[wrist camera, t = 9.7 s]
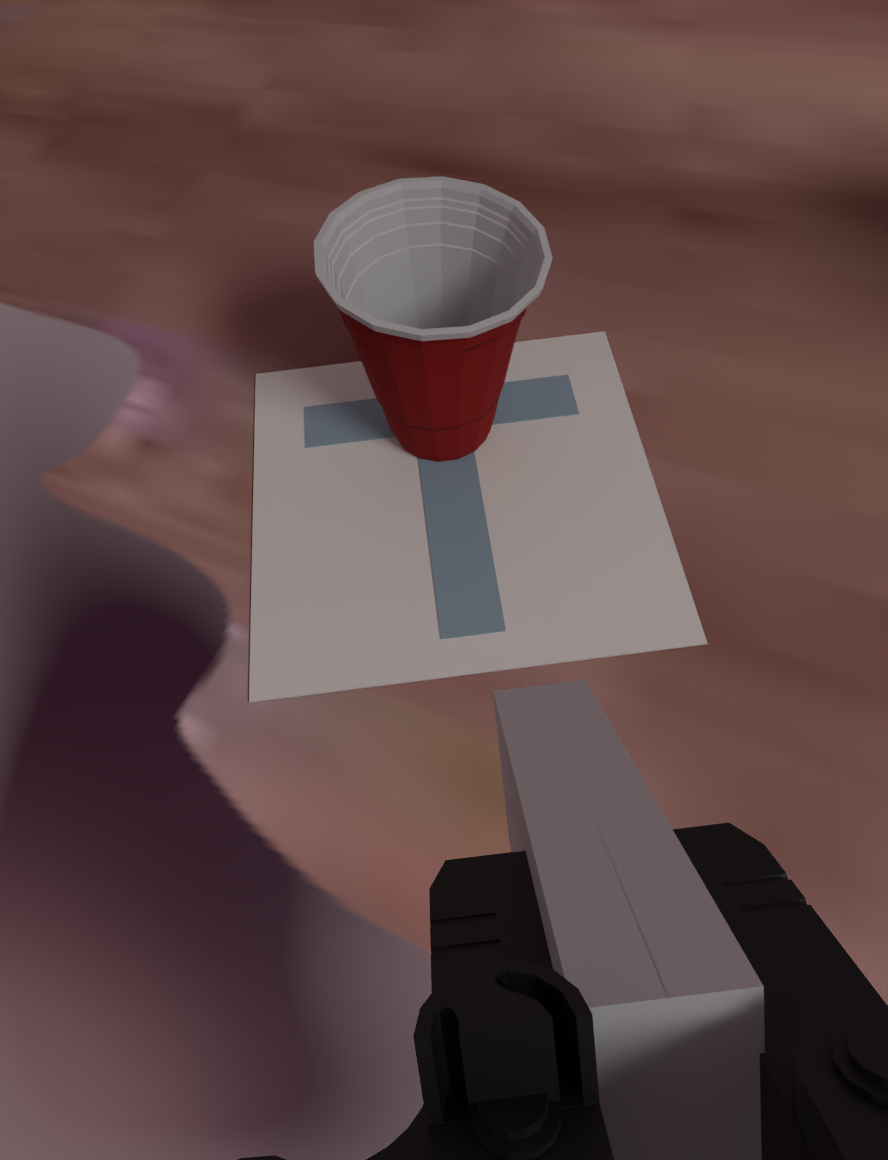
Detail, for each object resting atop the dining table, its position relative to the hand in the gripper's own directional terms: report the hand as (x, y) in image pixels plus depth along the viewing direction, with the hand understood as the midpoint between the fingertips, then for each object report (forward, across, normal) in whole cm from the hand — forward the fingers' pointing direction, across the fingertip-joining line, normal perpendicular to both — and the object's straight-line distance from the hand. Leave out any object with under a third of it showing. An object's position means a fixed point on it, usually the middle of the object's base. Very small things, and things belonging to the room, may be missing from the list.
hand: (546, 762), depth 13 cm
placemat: (+31, 0, +1) cm, 31 cm away
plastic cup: (+34, 0, +4) cm, 34 cm away
